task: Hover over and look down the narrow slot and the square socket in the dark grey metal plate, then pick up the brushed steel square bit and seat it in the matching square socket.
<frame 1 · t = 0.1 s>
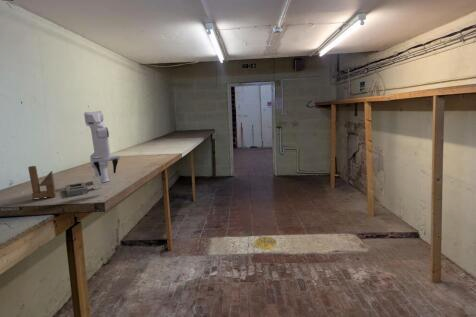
hand: (107, 174, 186), 10 cm above the workbench, tool pointing down, fingers open, 7 cm apart
socket plate: (76, 191, 191), on the workbench
wooden stand: (45, 198, 183), on the workbench
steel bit: (97, 188, 196), on the workbench
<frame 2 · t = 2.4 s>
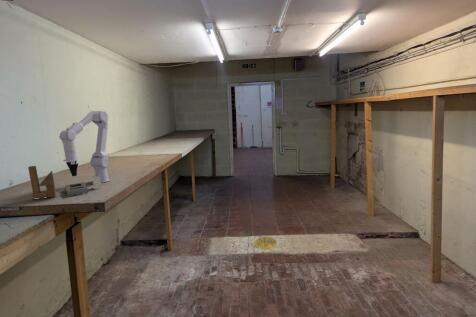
hand: (73, 174, 192), 9 cm above the workbench, tool pointing down, fingers open, 7 cm apart
nothing on the workbench moved.
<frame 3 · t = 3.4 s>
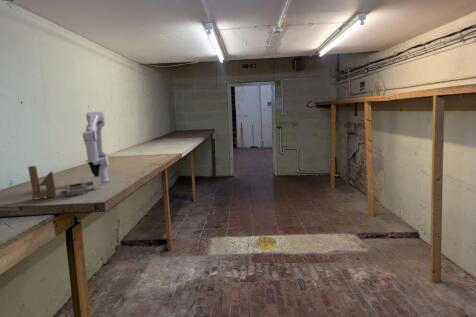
hand: (95, 174, 195), 8 cm above the workbench, tool pointing down, fingers open, 7 cm apart
nothing on the workbench moved.
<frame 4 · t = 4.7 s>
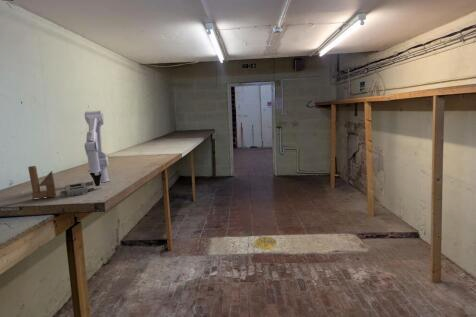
hand: (97, 185, 196), 2 cm above the workbench, tool pointing down, fingers closed on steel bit, 4 cm apart
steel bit: (97, 188, 196), on the workbench, touching gripper
everything else where it was.
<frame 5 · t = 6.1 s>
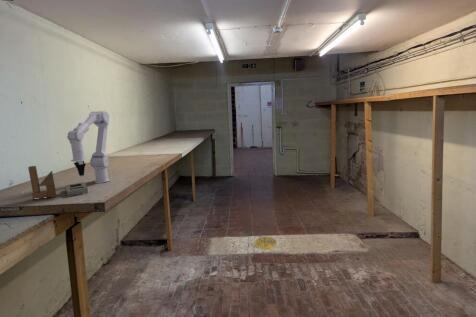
hand: (81, 174, 193), 9 cm above the workbench, tool pointing down, fingers closed on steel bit, 4 cm apart
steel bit: (82, 178, 193), point 7 cm above the workbench, touching gripper
everything else where it was.
when the fingers open (4 cm above the workbench, at t = 8.0 s): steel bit drops 2 cm, resting in socket plate.
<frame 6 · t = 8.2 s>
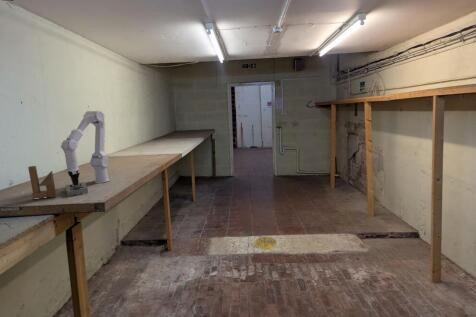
hand: (75, 184, 193), 4 cm above the workbench, tool pointing down, fingers open, 6 cm apart
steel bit: (76, 190, 194), resting in socket plate
everything else where it was.
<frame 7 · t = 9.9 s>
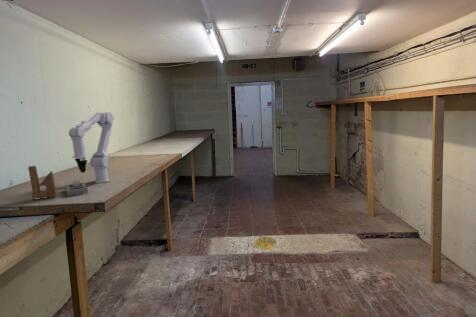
hand: (82, 171, 195), 10 cm above the workbench, tool pointing down, fingers open, 7 cm apart
nothing on the workbench moved.
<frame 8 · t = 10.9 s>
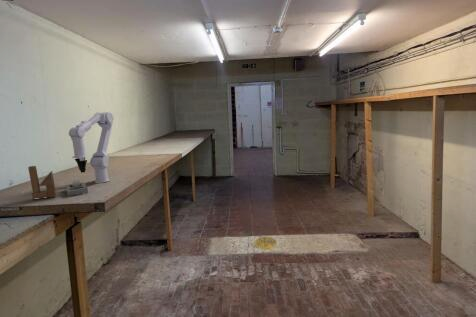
hand: (82, 171, 195), 10 cm above the workbench, tool pointing down, fingers open, 7 cm apart
nothing on the workbench moved.
at the end: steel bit 0.3 cm from the target spot on the socket plate, point 0.0 cm above the socket plate's base; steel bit tilted 0°; the gripper is holding nothing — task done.
